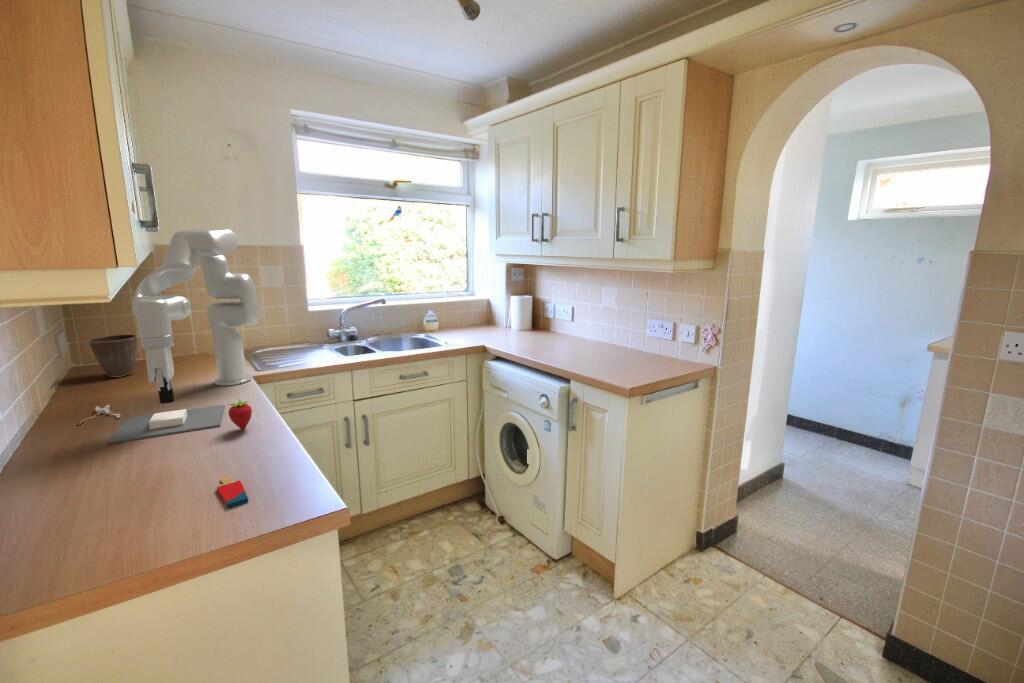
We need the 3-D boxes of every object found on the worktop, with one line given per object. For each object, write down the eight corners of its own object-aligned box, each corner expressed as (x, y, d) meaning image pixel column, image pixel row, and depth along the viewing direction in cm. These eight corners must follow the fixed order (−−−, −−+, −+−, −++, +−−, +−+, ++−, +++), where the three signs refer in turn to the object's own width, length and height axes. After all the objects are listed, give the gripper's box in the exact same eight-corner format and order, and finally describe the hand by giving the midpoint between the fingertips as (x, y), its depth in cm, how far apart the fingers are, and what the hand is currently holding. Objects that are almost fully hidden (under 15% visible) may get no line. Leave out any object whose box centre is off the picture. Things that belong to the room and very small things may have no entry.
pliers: (76, 422, 138) (82, 408, 150) (77, 427, 138) (83, 413, 150) (119, 415, 144) (122, 402, 155) (120, 420, 144) (122, 406, 156)
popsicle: (235, 471, 108) (250, 497, 97) (236, 477, 109) (250, 503, 97) (212, 477, 105) (225, 505, 94) (213, 483, 106) (226, 511, 94)
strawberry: (231, 436, 130) (226, 402, 128) (230, 427, 137) (226, 395, 135) (254, 431, 133) (250, 398, 131) (253, 423, 140) (249, 391, 138)
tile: (154, 413, 140) (148, 422, 133) (186, 409, 144) (182, 417, 137) (155, 420, 141) (150, 430, 134) (187, 416, 144) (183, 425, 137)
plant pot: (95, 383, 181) (87, 343, 178) (97, 375, 193) (89, 337, 189) (143, 376, 191) (136, 338, 187) (142, 369, 202) (136, 333, 199)
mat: (126, 419, 143) (126, 418, 143) (224, 406, 155) (224, 404, 155) (108, 444, 126) (107, 442, 126) (220, 426, 138) (219, 424, 137)
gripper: (147, 338, 138) (157, 397, 142) (135, 348, 125) (146, 412, 129) (177, 336, 141) (186, 393, 145) (169, 345, 129) (179, 407, 132)
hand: (167, 402), depth 137 cm, fingers closed
